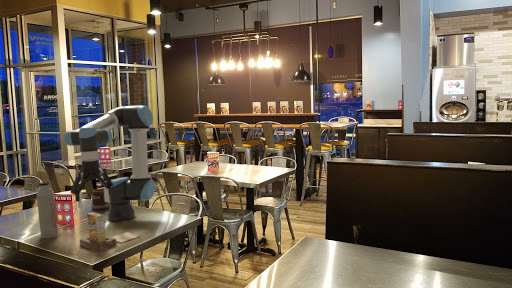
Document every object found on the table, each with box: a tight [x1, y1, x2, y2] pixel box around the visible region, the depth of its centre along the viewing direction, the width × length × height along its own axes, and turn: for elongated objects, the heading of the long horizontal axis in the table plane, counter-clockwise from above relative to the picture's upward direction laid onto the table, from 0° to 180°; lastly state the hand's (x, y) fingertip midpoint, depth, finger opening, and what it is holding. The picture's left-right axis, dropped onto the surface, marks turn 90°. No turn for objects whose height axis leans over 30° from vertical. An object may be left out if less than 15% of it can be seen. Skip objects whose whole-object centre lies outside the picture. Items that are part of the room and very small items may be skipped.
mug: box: [90, 188, 110, 211], centre depth 270 cm, size 12×14×15 cm
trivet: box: [110, 231, 141, 244], centre depth 209 cm, size 11×11×1 cm
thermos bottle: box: [36, 181, 59, 239], centre depth 217 cm, size 8×8×28 cm
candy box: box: [86, 211, 107, 243], centre depth 199 cm, size 9×4×15 cm, turn 50°
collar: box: [79, 235, 117, 253], centre depth 200 cm, size 10×15×3 cm, turn 51°
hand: (94, 205), depth 198 cm, fingers open, 13 cm apart
